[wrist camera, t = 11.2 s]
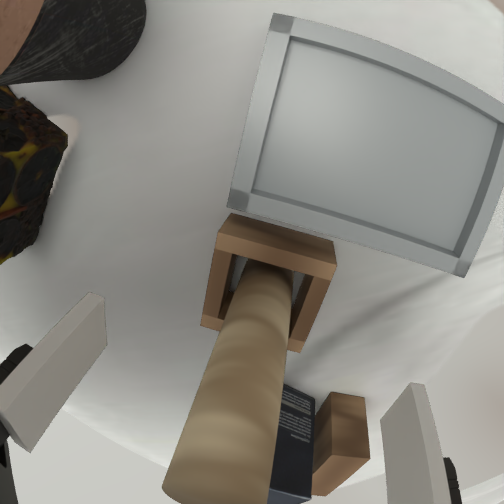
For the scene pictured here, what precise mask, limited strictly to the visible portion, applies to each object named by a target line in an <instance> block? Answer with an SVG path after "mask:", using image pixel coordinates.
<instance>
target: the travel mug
mask: <svg viewBox="0 0 504 504" xmlns="http://www.w3.org/2000/svg"><path fill="white" fill-rule="evenodd" d="M145 16H146V9H145V2H144V0H0V86H4V85H12V84H21V83H31V82H43V81H58V80H79V79H91V78H96V77H99V76H101V75H104V74H106V73H108V72H110V71H111V70H113V69H114V68H116V67H117V66H118V65H119V64H121V63H122V62H123V61H124V60H125V59H126V58H127V56H128V55H129V54H130V53H131V51H132V50H133V48H134V47H135V45H136V44H137V42H138V40H139V38H140V36H141V33H142V30H143V27H144V23H145Z"/></svg>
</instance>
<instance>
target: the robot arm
mask: <svg viewBox="0 0 504 504" xmlns="http://www.w3.org/2000/svg"><path fill="white" fill-rule="evenodd" d="M106 346H107V336H106V323H105V306H104V298H103V297H101V296H98V295H96V294H93V293H91V292H89V293H88V294H87V295H86V296H85V297H84V298H83V299H81V300H80V301H79V302H78V303H77V304H76V305H75V306H74V307H73V308H72V309H71V310H70V311H69V312H68V313H67V314H66V315H65V316H64V317H63V318H62V319H61V320H60V321H59V322H58V323H57V324H56V325H55V326H54V327H53V328H52V329H51V331H50V332H49V333H48V334H47V335H46V336H45V337H44V338H43V339H42V340H41V341H40V342H39V343H38V344H37V345H36V346H35V347H34V348H32V347H31V346H29V345H27V344H24V345H22V346H20V347H18V348H16V349H15V350H14V351H13V352H12V353H11V354H10V355H9V356H8V357H7V359H6V360H4V361H3V362H2V363H1V364H0V504H18V500H17V496H16V491H15V486H14V480H13V475H12V469H11V463H10V456H9V448H8V443H7V438H8V437H9V436H11V437H12V439H13V440H14V442H15V443H16V444H18V445H19V446H21V447H22V448H24V449H25V450H26V451H28V452H29V453H31V451H32V450H33V448H34V447H35V445H36V444H37V442H38V441H39V439H40V438H41V436H42V435H43V433H44V432H45V430H46V429H47V427H48V426H49V425H50V423H51V422H52V420H53V418H54V417H55V416H56V415H57V413H58V412H59V410H60V409H61V407H62V406H63V405H64V403H65V402H66V400H67V399H68V398H69V396H70V395H71V393H72V392H73V391H74V389H75V388H76V386H77V385H78V384H79V382H80V381H81V380H82V378H83V377H84V375H85V374H86V373H87V371H88V370H89V369H90V367H91V366H92V365H93V363H94V362H95V361H96V359H97V358H98V357H99V355H100V354H101V353H102V351H103V350H104V349H105V347H106ZM380 424H381V432H382V440H383V450H384V460H385V471H386V483H387V498H388V504H462V501H461V495H460V490H459V489H458V488H459V484H458V481H457V475H456V470H455V467H454V465H453V463H452V461H451V460H450V458H443V456H442V452H441V447H440V442H439V438H438V434H437V430H436V426H435V422H434V419H433V414H432V411H431V407H430V403H429V400H428V396H427V393H426V389H425V386H424V385H423V384H417V383H409V385H408V386H407V387H406V389H405V390H404V391H403V393H402V394H401V395H400V396H399V398H398V399H397V400H396V401H395V403H394V404H393V405H392V406H391V407H390V409H389V410H388V411H387V412H386V413H385V415H384V416H383V417H382V418H381V419H380Z"/></svg>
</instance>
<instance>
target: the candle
mask: <svg viewBox="0 0 504 504" xmlns="http://www.w3.org/2000/svg"><path fill="white" fill-rule="evenodd" d="M67 146H68V135H67V134H66V133H65V132H64V131H63V130H62V129H60V128H59V127H58V126H57V125H55V124H54V123H53V122H51V121H50V120H48V119H47V117H46V116H45V115H44V114H43V113H42V112H40V111H39V110H38V109H36V108H34V106H33V105H32V104H31V103H30V102H28V101H25V100H24V98H23V97H22V98H20V99H17V98H16V97H15V96H14V95H13V93H12V92H11V91H10V90H9V88H8V87H7V86H6V85H4V86H0V265H1V264H2V263H3V262H4V261H6V260H7V259H9V258H11V257H15V256H16V255H17V254H19V253H21V252H22V251H23V250H24V249H25V248H27V247H28V246H30V245H33V243H34V242H35V240H36V237H37V235H38V231H39V226H40V225H41V223H42V218H43V213H44V210H45V207H46V205H47V199H48V197H49V195H50V190H51V188H52V187H53V181H54V178H55V174H56V171H57V169H58V167H59V164H60V162H61V159H62V156H63V152H64V150H65V149H66V148H67Z"/></svg>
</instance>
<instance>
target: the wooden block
mask: <svg viewBox="0 0 504 504" xmlns="http://www.w3.org/2000/svg"><path fill="white" fill-rule="evenodd" d="M369 459H370V448H369V437H368V427H367V417H366V408H365V400H364V398H363V397H357V396H351V395H345V394H340V393H334V392H331V393H330V394H329V396H328V397H327V399H326V400H325V402H324V403H323V405H322V406H321V408H320V410H319V411H318V412H317V414H316V415H315V425H314V453H313V474H312V491H311V495H317V496H327V495H328V494H329V493H330V492H332V491H333V490H334V489H336V488H337V487H338V486H339V485H341V484H342V483H343V482H344V481H345V480H347V479H348V478H349V477H350V476H351V475H352V474H354V473H355V472H356V471H357V470H358V469H359V468H361V467H362V466H363V465H364V464H365V463H366V462H367V461H368V460H369Z"/></svg>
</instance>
